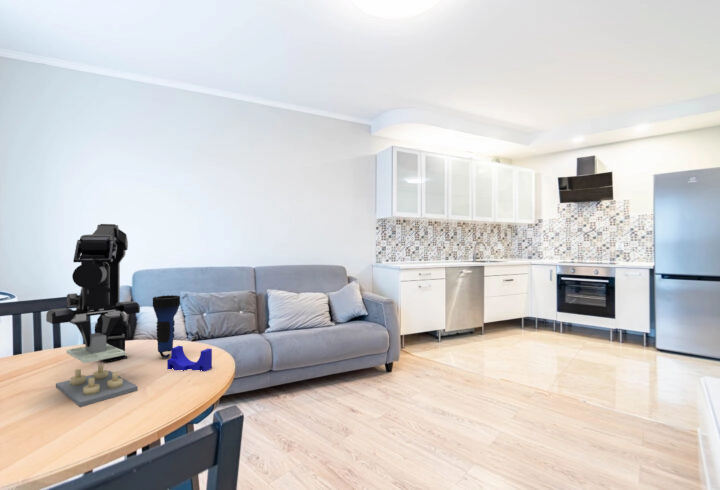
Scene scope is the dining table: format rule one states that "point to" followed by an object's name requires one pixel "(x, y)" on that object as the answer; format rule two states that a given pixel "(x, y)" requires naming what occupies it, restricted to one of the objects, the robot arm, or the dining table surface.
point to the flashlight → (165, 321)
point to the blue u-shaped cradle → (183, 363)
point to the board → (97, 356)
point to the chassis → (95, 386)
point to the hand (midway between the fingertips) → (95, 345)
